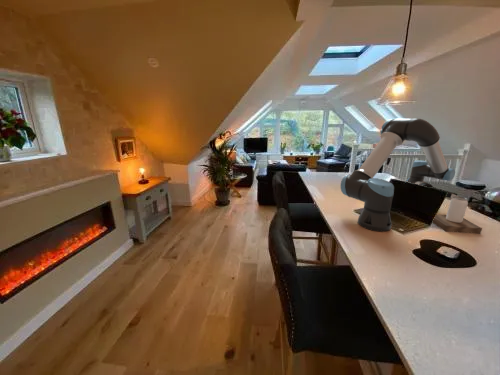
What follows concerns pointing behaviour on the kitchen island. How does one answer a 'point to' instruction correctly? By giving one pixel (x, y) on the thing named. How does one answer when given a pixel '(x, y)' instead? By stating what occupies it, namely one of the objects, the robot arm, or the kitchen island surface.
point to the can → (457, 209)
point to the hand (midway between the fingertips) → (445, 199)
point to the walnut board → (456, 225)
